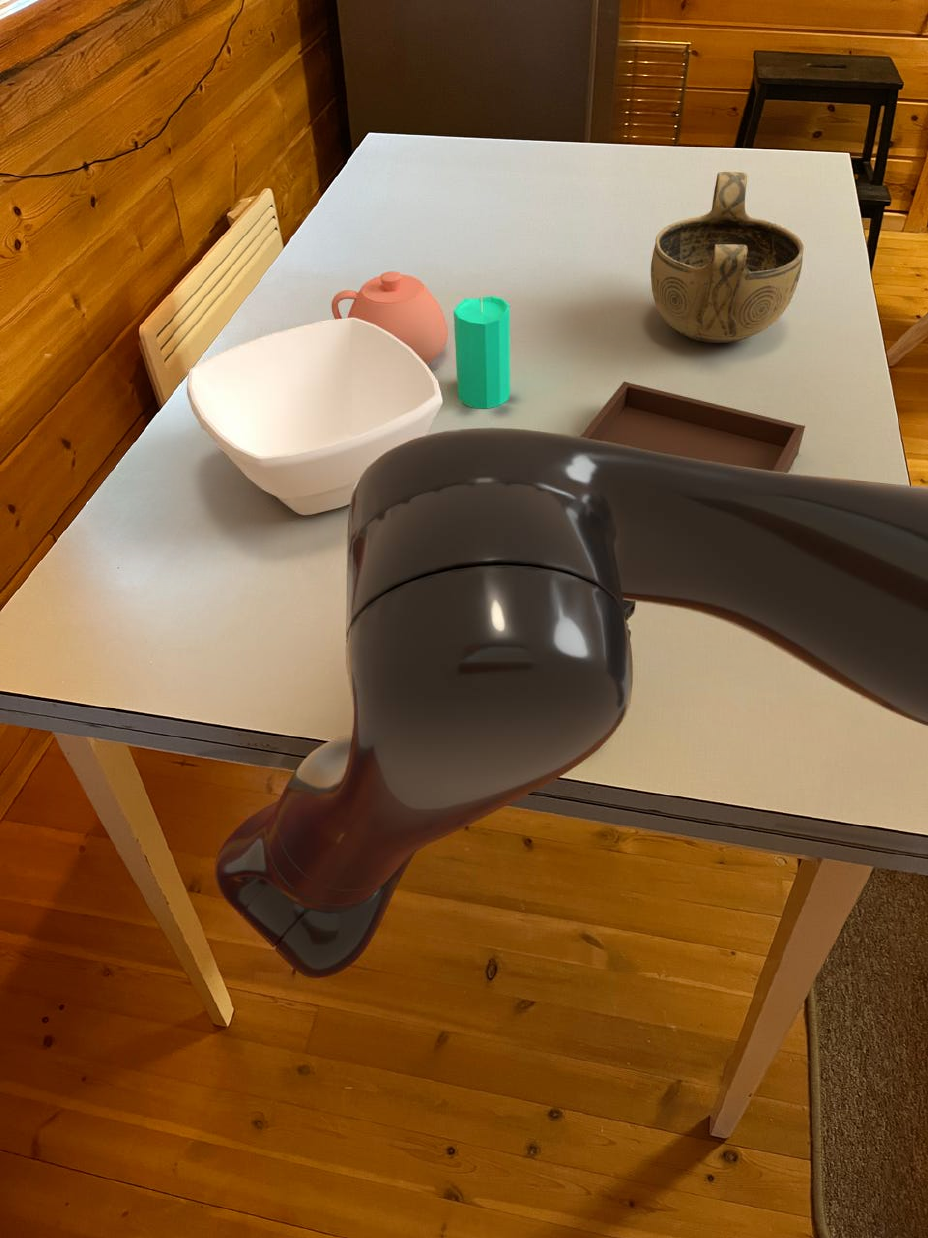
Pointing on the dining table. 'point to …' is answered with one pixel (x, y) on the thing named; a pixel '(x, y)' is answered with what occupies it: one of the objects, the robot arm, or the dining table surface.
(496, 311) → the candle
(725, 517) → the robot arm
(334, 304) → the sugar bowl
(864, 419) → the dining table surface
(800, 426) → the tray
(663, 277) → the ceramic bowl
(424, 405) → the bowl
